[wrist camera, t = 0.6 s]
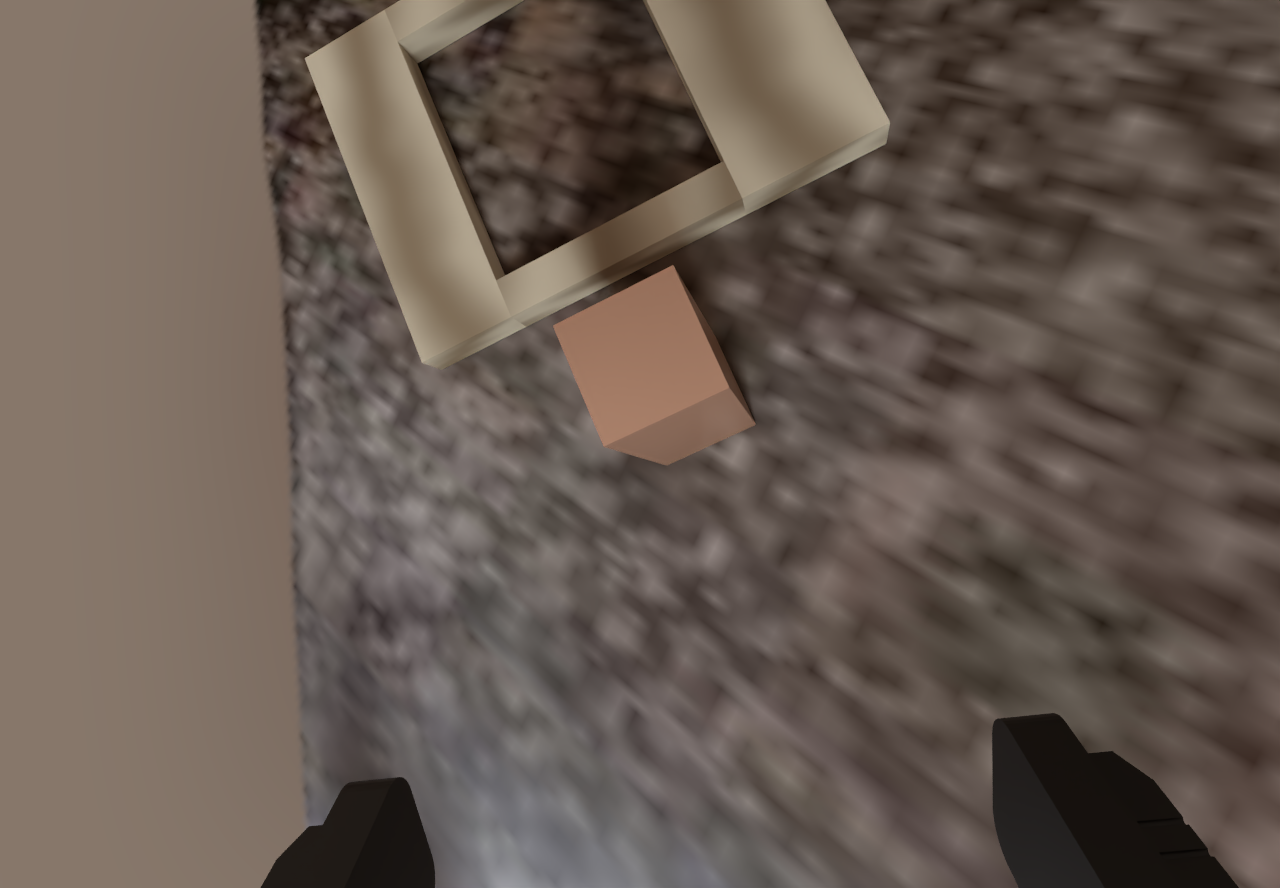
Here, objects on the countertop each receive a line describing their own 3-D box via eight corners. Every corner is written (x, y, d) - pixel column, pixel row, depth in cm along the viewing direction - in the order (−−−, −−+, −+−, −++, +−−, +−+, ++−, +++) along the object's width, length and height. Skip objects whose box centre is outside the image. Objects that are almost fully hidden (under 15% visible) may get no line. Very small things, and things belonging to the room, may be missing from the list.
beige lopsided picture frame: (725, -161, 39) (721, -196, 37) (886, 143, 36) (890, 122, 34) (328, 79, 43) (304, 58, 41) (441, 370, 40) (422, 362, 38)
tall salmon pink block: (715, 336, 37) (673, 264, 26) (756, 424, 36) (729, 387, 25) (628, 378, 37) (552, 325, 27) (666, 465, 37) (603, 446, 26)
